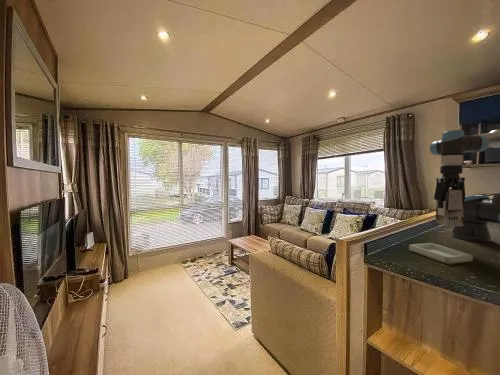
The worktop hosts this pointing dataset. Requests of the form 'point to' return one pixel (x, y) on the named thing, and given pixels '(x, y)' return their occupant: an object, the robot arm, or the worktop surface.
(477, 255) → the worktop surface
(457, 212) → the coffee box
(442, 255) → the tray
